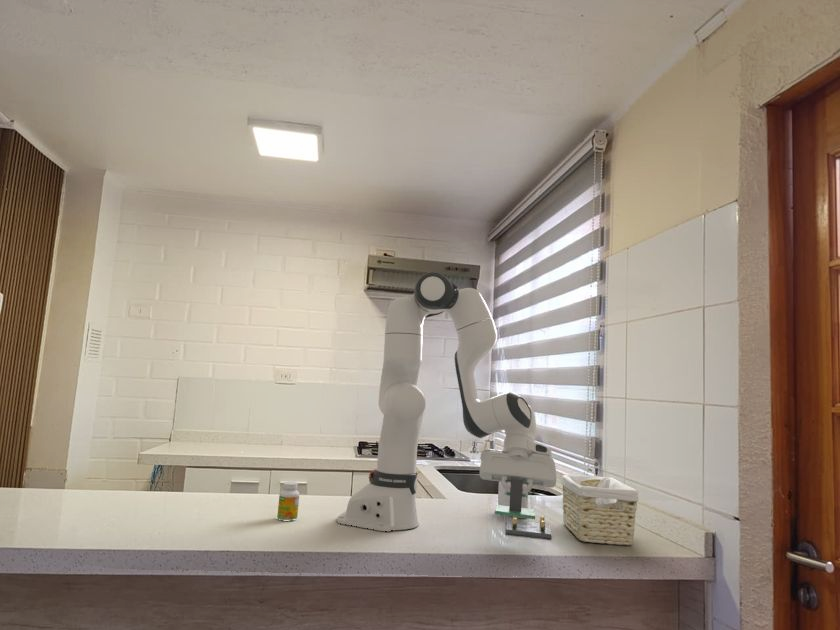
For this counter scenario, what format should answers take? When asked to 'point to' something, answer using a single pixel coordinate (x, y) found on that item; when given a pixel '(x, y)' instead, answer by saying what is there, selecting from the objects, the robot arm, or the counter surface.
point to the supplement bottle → (288, 501)
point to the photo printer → (505, 499)
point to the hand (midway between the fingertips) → (516, 495)
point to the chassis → (528, 528)
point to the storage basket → (599, 509)
